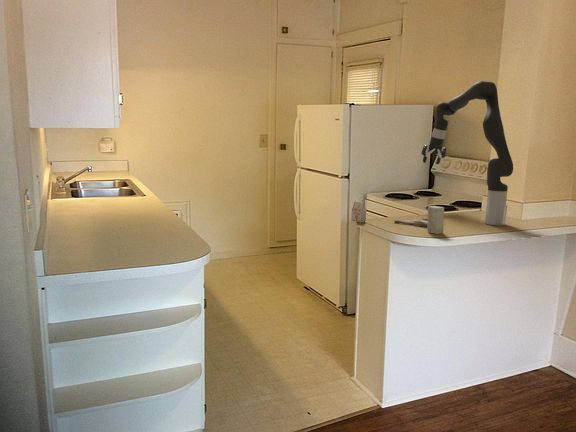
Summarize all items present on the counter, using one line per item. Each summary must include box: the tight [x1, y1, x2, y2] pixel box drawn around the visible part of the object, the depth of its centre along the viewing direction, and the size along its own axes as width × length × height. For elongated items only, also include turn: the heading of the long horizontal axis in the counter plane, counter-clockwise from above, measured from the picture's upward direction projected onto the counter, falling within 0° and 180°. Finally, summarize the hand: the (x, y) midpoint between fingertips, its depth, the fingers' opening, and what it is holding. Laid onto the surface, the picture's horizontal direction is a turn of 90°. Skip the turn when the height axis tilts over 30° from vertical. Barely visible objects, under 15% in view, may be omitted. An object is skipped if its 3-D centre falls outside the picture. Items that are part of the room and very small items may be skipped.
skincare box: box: [426, 205, 445, 235], centre depth 236 cm, size 6×4×12 cm
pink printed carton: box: [351, 200, 367, 224], centre depth 261 cm, size 4×7×10 cm, turn 35°
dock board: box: [393, 217, 428, 228], centre depth 257 cm, size 20×12×2 cm, turn 52°
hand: (430, 163), depth 305 cm, fingers open, 8 cm apart
